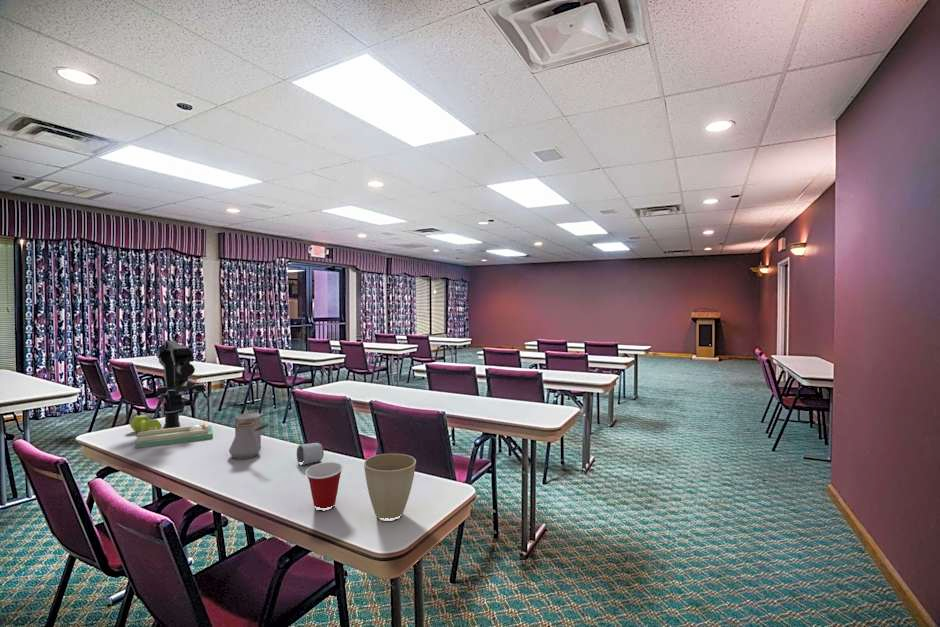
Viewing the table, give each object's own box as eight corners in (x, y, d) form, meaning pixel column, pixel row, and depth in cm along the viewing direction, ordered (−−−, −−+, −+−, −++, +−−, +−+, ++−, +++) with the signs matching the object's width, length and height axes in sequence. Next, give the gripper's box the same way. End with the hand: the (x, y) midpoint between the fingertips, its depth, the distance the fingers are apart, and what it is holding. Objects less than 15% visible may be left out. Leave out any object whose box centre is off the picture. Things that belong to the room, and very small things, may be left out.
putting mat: (138, 438, 202) (138, 427, 202) (211, 429, 217) (211, 419, 217) (135, 448, 188) (135, 436, 188) (212, 438, 203) (212, 427, 203)
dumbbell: (162, 434, 208) (162, 418, 208) (142, 438, 202) (142, 422, 202) (148, 428, 218) (148, 413, 218) (128, 432, 211) (128, 416, 211)
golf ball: (199, 424, 210) (189, 431, 207) (196, 421, 205) (185, 429, 203) (206, 432, 209) (195, 439, 207) (203, 430, 205) (192, 437, 202)
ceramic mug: (324, 462, 174) (324, 443, 174) (304, 468, 168) (304, 447, 168) (312, 456, 182) (312, 437, 182) (292, 461, 176) (292, 441, 176)
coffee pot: (223, 457, 179) (223, 419, 179) (250, 449, 189) (250, 413, 189) (254, 468, 168) (254, 427, 167) (282, 459, 177) (282, 421, 177)
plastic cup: (296, 510, 134) (297, 470, 134) (324, 497, 143) (324, 459, 143) (323, 519, 129) (323, 477, 129) (350, 504, 138) (350, 465, 138)
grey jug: (240, 444, 195) (240, 409, 195) (264, 443, 196) (264, 409, 196) (231, 451, 186) (230, 415, 185) (256, 451, 187) (255, 415, 186)
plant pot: (402, 531, 122) (403, 473, 122) (353, 524, 126) (354, 467, 126) (423, 508, 137) (423, 455, 136) (378, 501, 141) (379, 450, 140)
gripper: (156, 377, 199) (156, 413, 199) (205, 374, 209) (205, 408, 209) (157, 374, 208) (157, 408, 208) (204, 371, 218) (204, 403, 218)
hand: (181, 407), depth 211 cm, fingers open, 9 cm apart
